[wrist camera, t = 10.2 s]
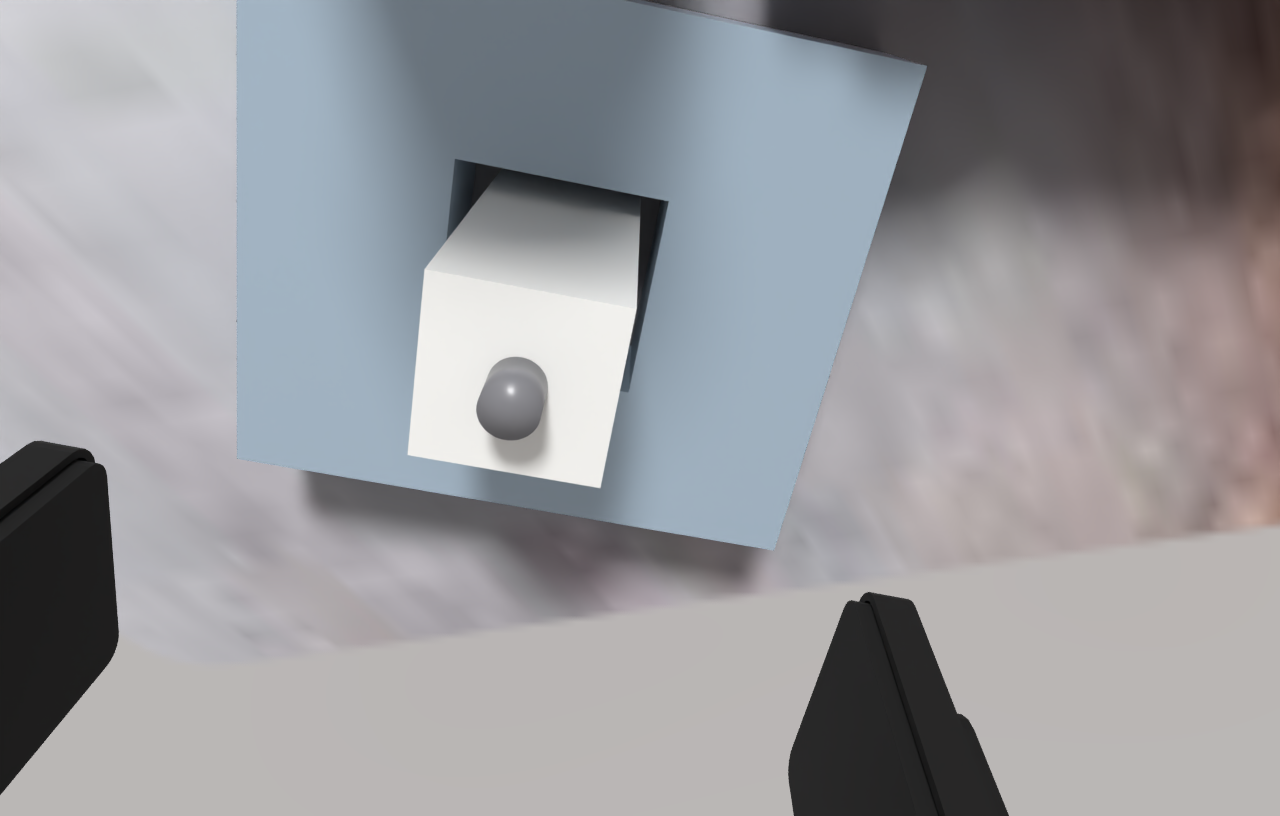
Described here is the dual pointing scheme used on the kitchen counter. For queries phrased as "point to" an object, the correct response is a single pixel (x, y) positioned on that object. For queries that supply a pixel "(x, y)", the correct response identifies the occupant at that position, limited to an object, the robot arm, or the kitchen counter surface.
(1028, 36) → the kitchen counter surface
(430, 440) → the white square peg
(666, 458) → the socket plate
